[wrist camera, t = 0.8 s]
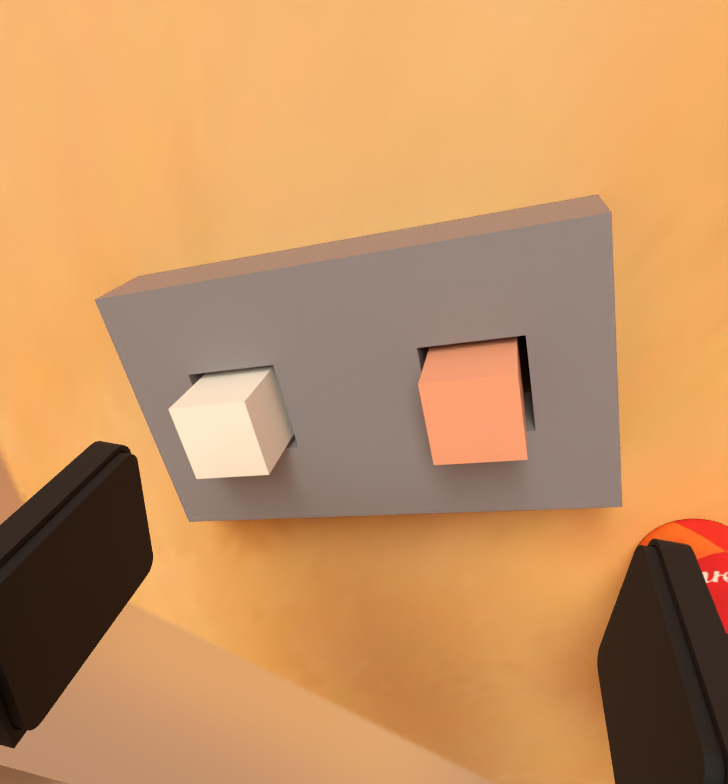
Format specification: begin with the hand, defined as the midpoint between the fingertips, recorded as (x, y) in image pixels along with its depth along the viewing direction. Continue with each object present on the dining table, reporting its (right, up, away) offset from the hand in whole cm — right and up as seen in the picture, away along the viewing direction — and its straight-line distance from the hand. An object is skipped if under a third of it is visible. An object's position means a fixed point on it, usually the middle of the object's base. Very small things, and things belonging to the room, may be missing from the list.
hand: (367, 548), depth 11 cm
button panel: (0, +4, +21) cm, 22 cm away
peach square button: (+5, +4, +17) cm, 18 cm away
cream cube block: (-6, +2, +21) cm, 22 cm away
